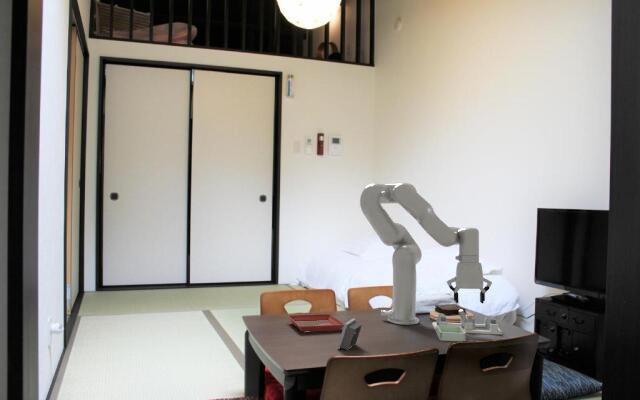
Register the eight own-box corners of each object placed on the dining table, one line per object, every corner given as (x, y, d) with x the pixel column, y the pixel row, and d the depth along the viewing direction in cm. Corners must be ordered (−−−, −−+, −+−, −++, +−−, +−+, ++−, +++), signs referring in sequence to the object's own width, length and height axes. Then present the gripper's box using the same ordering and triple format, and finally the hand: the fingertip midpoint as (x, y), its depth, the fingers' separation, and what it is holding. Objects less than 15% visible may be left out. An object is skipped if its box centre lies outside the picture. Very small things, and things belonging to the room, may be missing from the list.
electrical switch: (346, 342, 187) (349, 316, 187) (359, 346, 186) (363, 320, 185) (336, 349, 179) (339, 322, 178) (351, 353, 177) (354, 326, 176)
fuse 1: (440, 330, 209) (440, 317, 209) (438, 325, 215) (438, 313, 215) (445, 330, 209) (445, 317, 209) (443, 326, 215) (443, 313, 215)
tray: (440, 340, 194) (440, 332, 194) (436, 332, 205) (436, 324, 205) (466, 341, 193) (466, 333, 193) (460, 333, 204) (460, 326, 204)
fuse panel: (435, 331, 207) (436, 321, 207) (432, 324, 218) (432, 315, 218) (502, 334, 204) (502, 325, 204) (495, 327, 216) (495, 318, 216)
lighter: (472, 328, 213) (472, 308, 213) (474, 329, 212) (475, 309, 212) (457, 329, 211) (458, 309, 210) (460, 330, 209) (460, 310, 209)
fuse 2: (490, 332, 207) (490, 319, 207) (486, 328, 214) (486, 315, 214) (495, 332, 207) (495, 319, 207) (491, 328, 214) (491, 316, 213)
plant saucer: (329, 321, 220) (329, 313, 220) (345, 332, 203) (345, 323, 203) (287, 323, 214) (287, 315, 214) (299, 335, 197) (299, 326, 197)
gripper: (448, 260, 208) (448, 304, 208) (493, 260, 206) (494, 304, 206) (445, 258, 215) (445, 300, 215) (489, 258, 214) (489, 301, 214)
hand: (469, 302), depth 211 cm, fingers open, 9 cm apart
